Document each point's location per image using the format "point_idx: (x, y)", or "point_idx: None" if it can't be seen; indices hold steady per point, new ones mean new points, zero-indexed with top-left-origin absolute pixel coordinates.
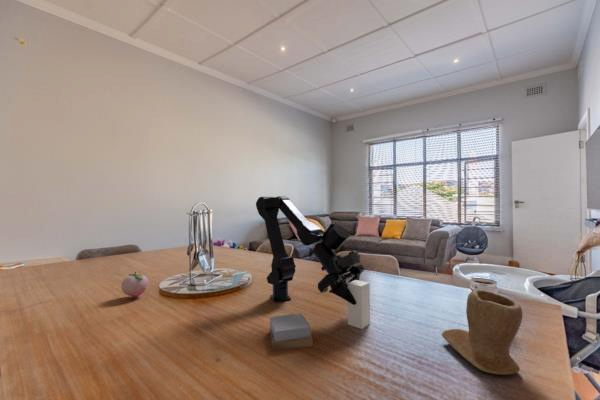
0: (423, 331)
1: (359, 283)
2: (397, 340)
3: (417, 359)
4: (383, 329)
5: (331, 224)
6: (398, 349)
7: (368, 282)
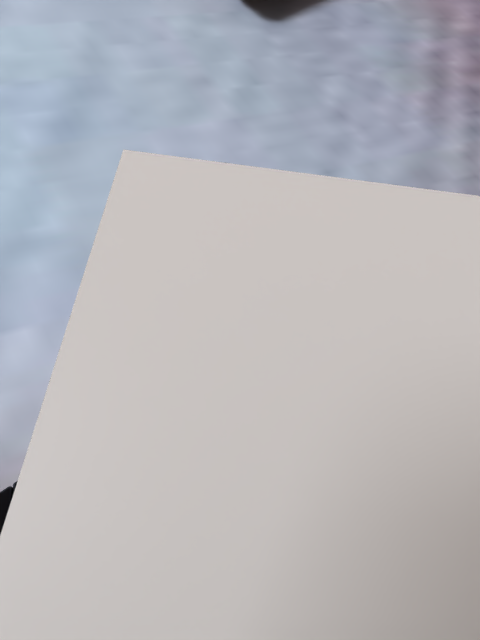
0: (170, 97)
1: (394, 377)
2: (348, 176)
3: (465, 79)
4: None
5: None
6: (437, 154)
7: (124, 173)
